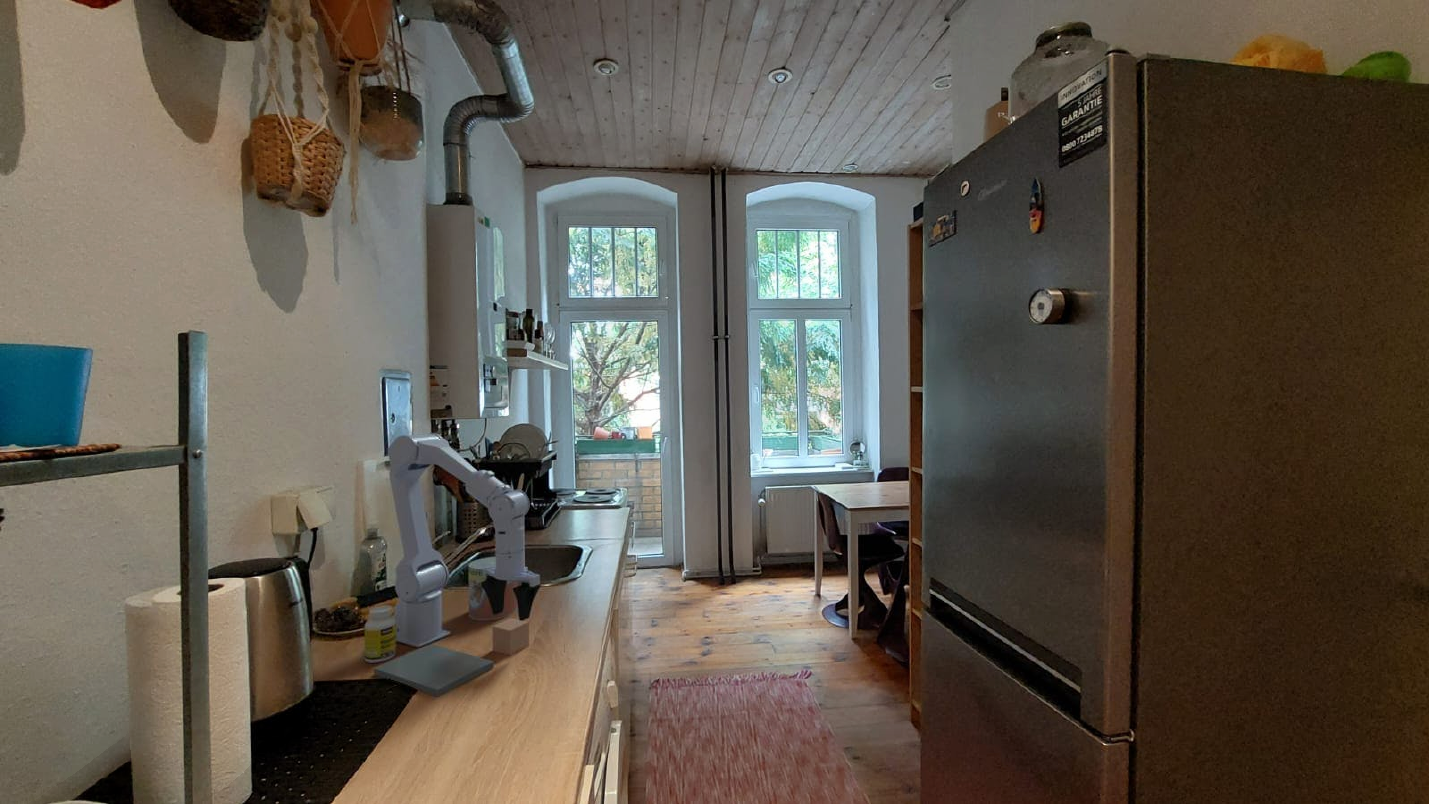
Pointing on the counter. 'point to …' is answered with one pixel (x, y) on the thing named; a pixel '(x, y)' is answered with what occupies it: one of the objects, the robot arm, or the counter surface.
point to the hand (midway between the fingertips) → (511, 616)
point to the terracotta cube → (510, 636)
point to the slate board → (434, 669)
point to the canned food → (478, 596)
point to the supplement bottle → (380, 635)
